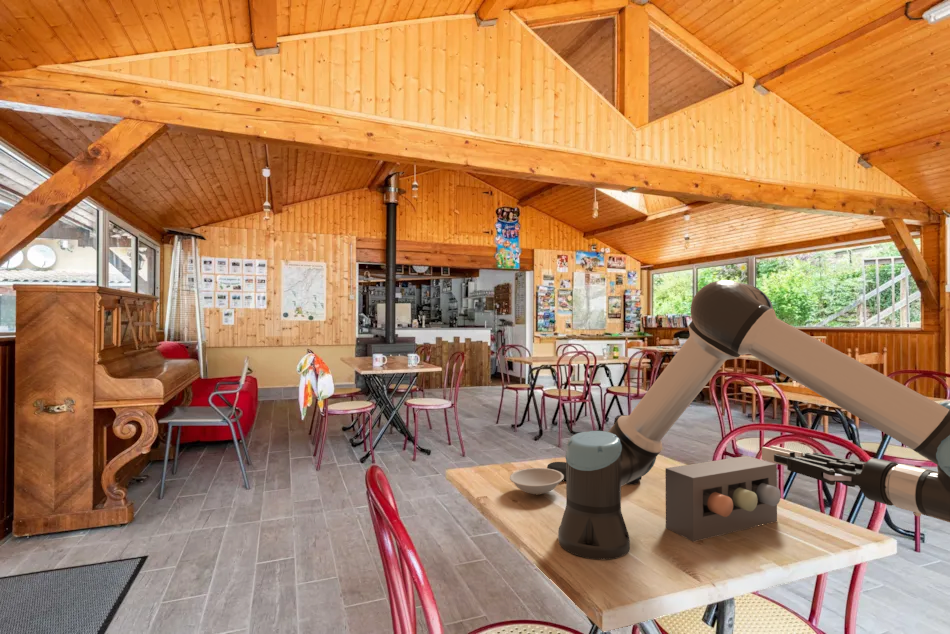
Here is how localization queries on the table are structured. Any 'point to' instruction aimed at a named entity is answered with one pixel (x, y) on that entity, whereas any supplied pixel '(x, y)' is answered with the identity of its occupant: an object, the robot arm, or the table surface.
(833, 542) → the table surface
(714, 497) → the terracotta button
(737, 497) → the sage button
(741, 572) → the table surface
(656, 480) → the table surface
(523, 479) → the dish
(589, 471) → the robot arm
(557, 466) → the smart speaker
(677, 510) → the console
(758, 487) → the grey rounded knob
